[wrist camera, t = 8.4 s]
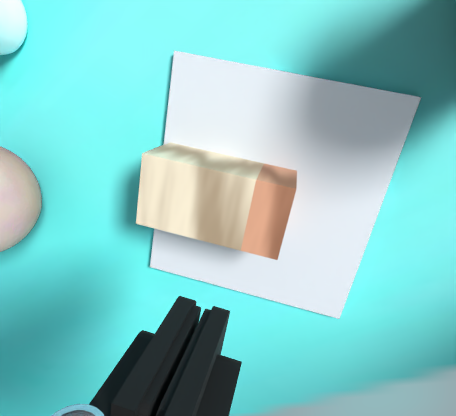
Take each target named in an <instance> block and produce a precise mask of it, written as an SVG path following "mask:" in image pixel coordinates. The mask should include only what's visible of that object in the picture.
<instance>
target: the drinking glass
mask: <svg viewBox="0 0 456 416" xmlns="http://www.w3.org/2000/svg"><path fill="white" fill-rule="evenodd" d="M27 26H28V23H27V15H26V11H25V8H24V5H23V3H22V1H21V0H0V55H6V54H10V53H13V52H14V51H16V50H17V49H18V48H19V47H20V46H21V45H22V44H23V42H24V40H25V37H26V34H27Z"/></svg>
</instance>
